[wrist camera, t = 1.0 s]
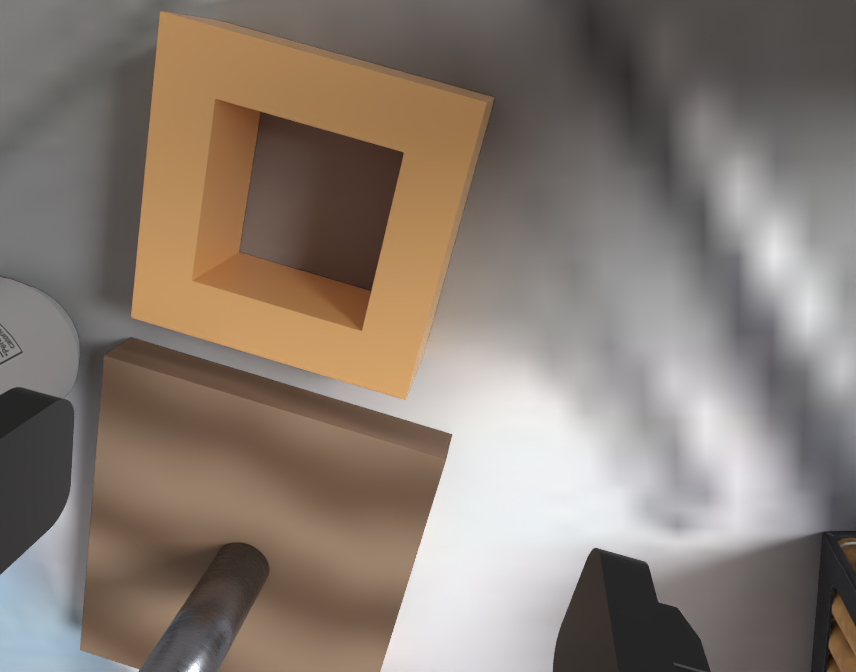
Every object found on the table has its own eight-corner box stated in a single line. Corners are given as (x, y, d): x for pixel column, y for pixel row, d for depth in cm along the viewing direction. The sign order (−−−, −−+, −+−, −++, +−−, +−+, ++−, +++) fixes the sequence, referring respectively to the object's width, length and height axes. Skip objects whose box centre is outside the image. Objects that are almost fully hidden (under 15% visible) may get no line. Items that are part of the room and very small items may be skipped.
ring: (218, 20, 24) (160, 11, 21) (494, 97, 24) (486, 102, 20) (184, 284, 28) (130, 317, 24) (423, 356, 28) (405, 400, 24)
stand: (131, 337, 29) (-63, 464, 20) (451, 434, 29) (409, 613, 19) (103, 619, 35) (-55, 820, 26) (368, 704, 35) (304, 941, 25)
